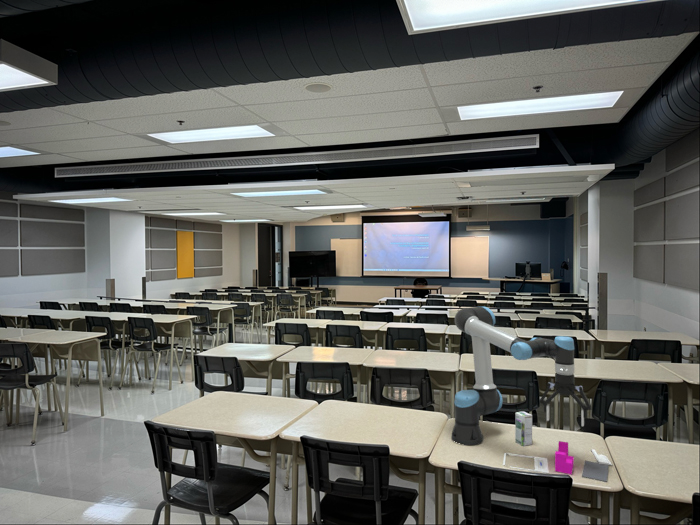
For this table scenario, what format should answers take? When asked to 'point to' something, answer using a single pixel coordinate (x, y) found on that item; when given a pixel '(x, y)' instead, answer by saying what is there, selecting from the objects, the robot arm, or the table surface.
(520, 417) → the syrup box
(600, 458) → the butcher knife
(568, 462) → the toy block
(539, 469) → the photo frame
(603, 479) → the mat
